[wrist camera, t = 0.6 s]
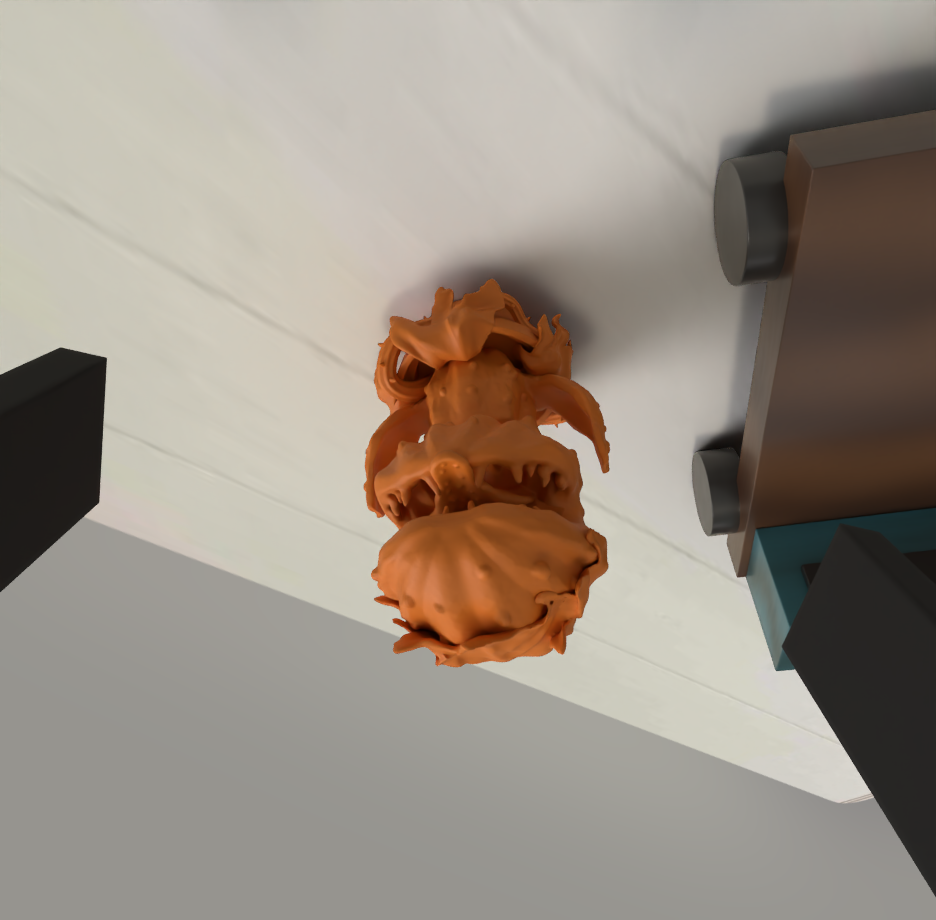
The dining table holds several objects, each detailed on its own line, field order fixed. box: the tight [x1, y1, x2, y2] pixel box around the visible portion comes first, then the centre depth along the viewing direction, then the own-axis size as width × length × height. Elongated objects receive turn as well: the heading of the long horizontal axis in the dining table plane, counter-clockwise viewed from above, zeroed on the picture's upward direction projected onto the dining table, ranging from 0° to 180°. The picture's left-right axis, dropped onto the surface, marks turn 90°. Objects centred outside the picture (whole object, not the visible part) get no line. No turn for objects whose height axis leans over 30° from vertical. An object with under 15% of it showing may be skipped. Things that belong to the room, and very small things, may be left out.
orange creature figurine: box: [364, 279, 610, 667], centre depth 32 cm, size 11×11×18 cm
